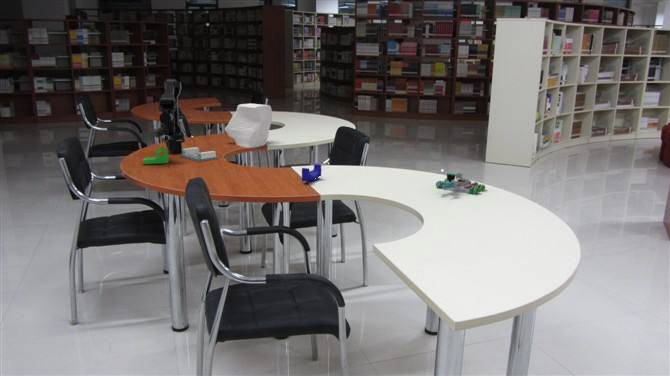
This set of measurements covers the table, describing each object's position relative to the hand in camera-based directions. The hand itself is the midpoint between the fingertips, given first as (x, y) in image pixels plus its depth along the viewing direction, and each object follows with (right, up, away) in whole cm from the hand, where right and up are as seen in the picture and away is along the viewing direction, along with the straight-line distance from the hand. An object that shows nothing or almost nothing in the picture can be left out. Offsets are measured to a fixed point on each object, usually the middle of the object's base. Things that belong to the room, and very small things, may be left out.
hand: (170, 151), depth 284 cm
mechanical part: (-7, -6, -1) cm, 9 cm away
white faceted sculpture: (+35, +6, +50) cm, 61 cm away
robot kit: (+137, -22, -53) cm, 148 cm away
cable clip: (+74, -15, -32) cm, 82 cm away
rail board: (+12, -3, +11) cm, 17 cm away
